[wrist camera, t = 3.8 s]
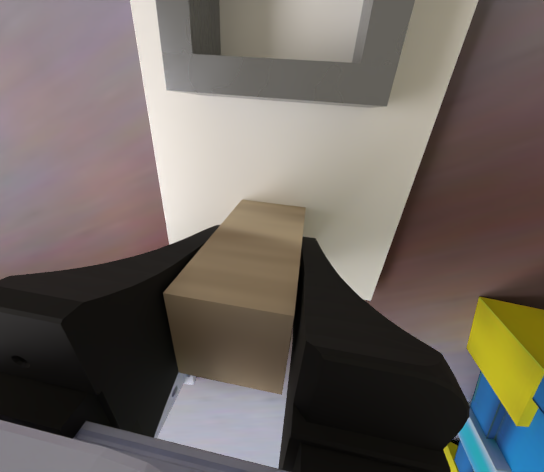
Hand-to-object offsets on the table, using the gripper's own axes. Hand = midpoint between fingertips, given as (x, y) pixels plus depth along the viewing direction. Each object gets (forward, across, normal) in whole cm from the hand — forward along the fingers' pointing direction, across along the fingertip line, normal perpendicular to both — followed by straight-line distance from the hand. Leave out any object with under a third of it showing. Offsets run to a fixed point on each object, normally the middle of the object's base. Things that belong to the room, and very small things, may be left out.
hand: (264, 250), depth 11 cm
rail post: (+2, 0, 0) cm, 2 cm away
